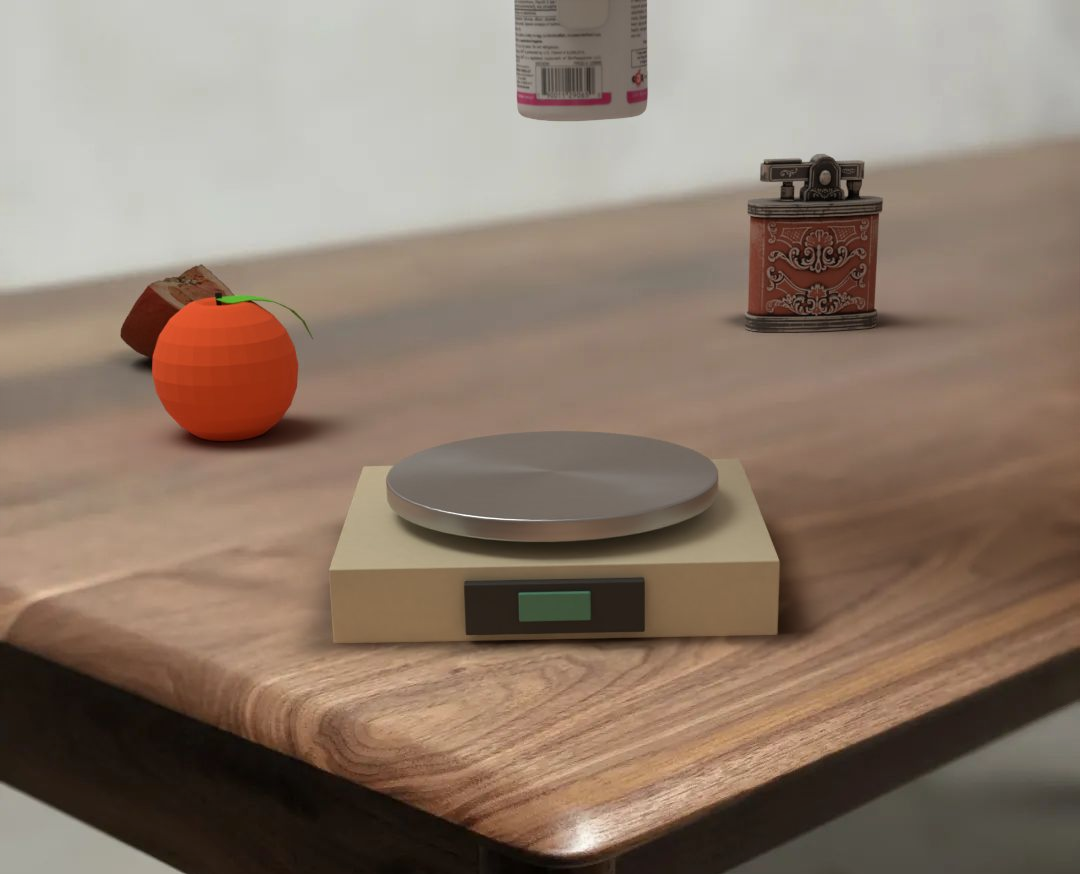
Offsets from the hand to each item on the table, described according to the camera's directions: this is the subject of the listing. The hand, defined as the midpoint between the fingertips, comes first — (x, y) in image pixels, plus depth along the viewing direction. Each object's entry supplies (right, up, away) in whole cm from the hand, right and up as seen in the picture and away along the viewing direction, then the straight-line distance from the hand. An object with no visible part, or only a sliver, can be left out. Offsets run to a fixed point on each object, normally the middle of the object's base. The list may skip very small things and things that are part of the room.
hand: (582, 24), depth 66 cm
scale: (-1, -20, +2) cm, 20 cm away
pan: (-1, -17, +1) cm, 17 cm away
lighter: (+15, -1, +47) cm, 49 cm away
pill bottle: (0, -3, +1) cm, 3 cm away
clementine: (-16, -11, +24) cm, 31 cm away
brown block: (-22, -4, +41) cm, 47 cm away
